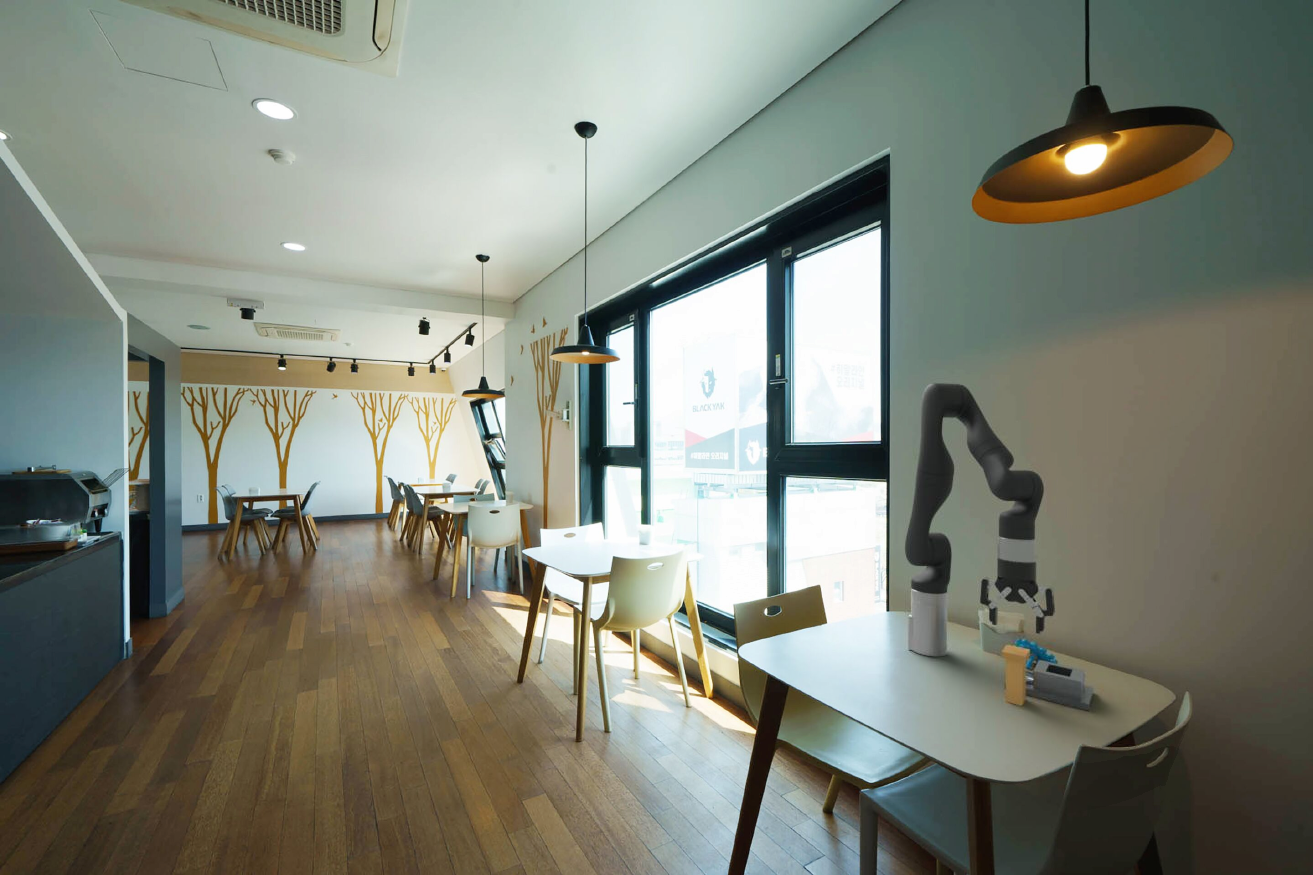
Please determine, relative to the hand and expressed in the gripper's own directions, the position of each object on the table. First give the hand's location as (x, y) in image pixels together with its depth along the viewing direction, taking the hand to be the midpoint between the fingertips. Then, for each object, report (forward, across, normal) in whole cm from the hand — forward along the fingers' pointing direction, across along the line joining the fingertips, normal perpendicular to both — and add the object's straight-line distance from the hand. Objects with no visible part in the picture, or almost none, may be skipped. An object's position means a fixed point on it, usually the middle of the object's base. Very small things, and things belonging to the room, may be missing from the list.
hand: (1016, 628), depth 129 cm
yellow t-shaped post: (+16, 0, 0) cm, 16 cm away
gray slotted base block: (+16, +5, +11) cm, 20 cm away
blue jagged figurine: (+17, 0, +27) cm, 32 cm away
